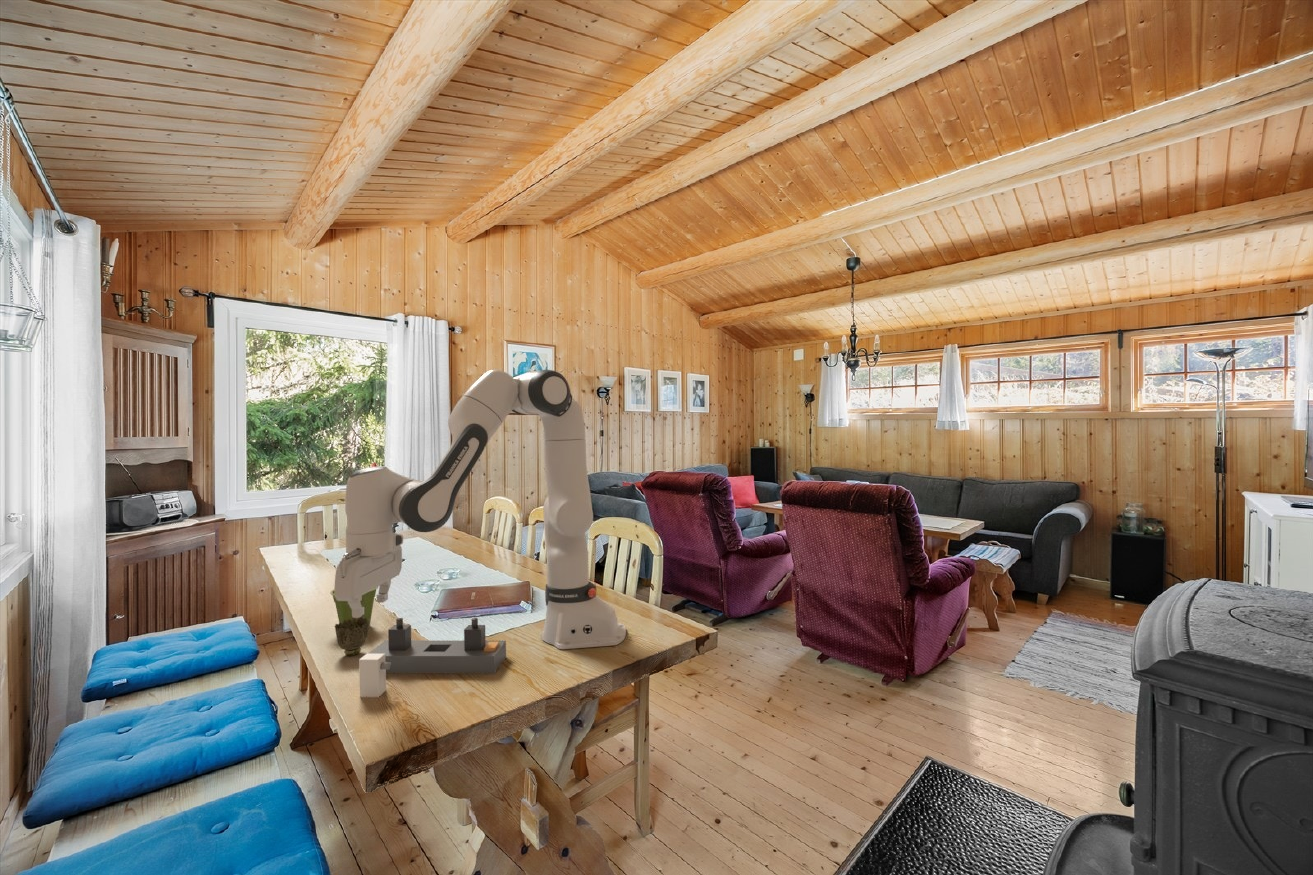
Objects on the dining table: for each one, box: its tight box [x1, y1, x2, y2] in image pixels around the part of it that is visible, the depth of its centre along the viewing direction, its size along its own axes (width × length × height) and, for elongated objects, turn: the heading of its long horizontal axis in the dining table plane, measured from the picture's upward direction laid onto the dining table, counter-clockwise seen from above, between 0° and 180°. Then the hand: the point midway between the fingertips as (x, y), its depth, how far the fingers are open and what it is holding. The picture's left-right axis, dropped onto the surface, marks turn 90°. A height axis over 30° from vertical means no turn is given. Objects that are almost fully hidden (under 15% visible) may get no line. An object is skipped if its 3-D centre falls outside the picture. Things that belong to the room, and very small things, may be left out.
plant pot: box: [330, 586, 379, 628], centre depth 155 cm, size 12×12×11 cm
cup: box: [334, 617, 369, 657], centre depth 138 cm, size 8×7×8 cm
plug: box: [358, 653, 391, 698], centre depth 118 cm, size 6×3×8 cm, turn 89°
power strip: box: [367, 617, 507, 674], centre depth 131 cm, size 30×9×11 cm, turn 89°
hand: (370, 608), depth 117 cm, fingers open, 8 cm apart
